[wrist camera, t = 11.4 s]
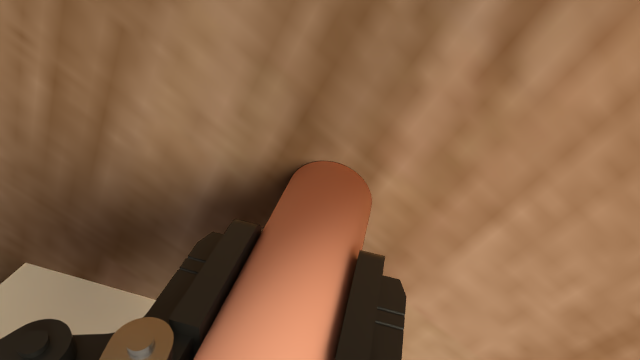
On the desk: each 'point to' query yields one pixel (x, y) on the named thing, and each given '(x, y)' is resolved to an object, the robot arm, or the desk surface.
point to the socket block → (66, 302)
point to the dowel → (296, 272)
